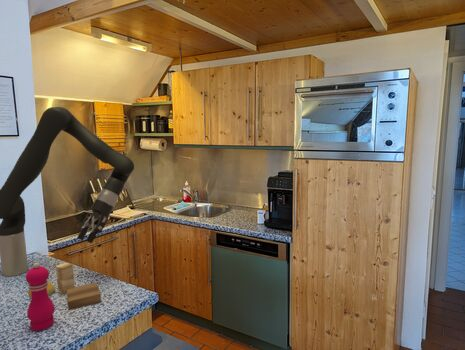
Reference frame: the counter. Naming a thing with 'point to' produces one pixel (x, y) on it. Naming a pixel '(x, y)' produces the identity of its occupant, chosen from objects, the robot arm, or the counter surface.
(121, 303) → the counter surface
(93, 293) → the walnut block
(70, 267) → the beech block
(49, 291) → the bread roll
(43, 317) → the pepper mill
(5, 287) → the counter surface
